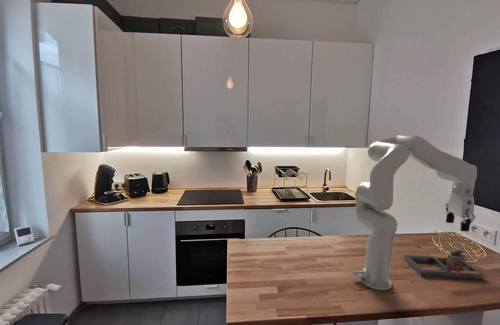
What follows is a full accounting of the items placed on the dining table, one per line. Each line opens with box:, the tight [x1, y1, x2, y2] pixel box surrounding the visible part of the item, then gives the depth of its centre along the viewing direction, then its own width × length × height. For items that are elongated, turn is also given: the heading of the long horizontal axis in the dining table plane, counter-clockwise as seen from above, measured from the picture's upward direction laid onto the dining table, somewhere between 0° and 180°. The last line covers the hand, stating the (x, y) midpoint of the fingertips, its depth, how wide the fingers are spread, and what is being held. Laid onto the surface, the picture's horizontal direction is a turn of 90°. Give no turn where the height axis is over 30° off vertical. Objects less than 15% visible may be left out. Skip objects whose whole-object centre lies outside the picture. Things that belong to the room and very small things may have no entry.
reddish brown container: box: [446, 248, 466, 271], centre depth 121 cm, size 8×3×10 cm, turn 100°
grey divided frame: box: [403, 254, 484, 280], centre depth 122 cm, size 26×14×3 cm, turn 86°
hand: (456, 226), depth 120 cm, fingers open, 9 cm apart
